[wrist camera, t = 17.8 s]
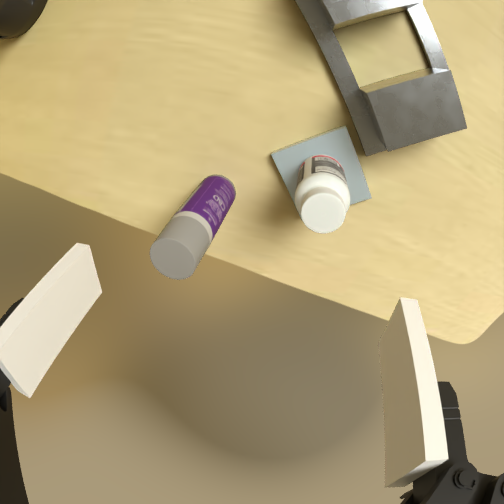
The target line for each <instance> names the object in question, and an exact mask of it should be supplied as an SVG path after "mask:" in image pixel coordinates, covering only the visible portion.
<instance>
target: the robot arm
mask: <svg viewBox="0 0 504 504" xmlns="http://www.w3.org/2000/svg"><path fill="white" fill-rule="evenodd" d="M46 2H47V0H0V39H8V38H14V37H17V36H20V35H22V34H23V33H25V32H26V31H27V30H28V29H29V28H30V27H31V26H32V25H33V24H34V23H35V21H36V20H37V18H38V17H39V15H40V14H41V12H42V10H43V8H44V6H45V4H46ZM101 293H102V290H101V286H100V283H99V279H98V276H97V272H96V269H95V265H94V261H93V257H92V253H91V249H90V245H85V244H80V243H76V244H75V245H74V246H73V247H72V248H71V249H70V250H69V251H68V252H67V253H66V254H65V255H64V256H63V258H61V259H60V260H59V261H58V262H57V264H56V265H55V266H54V267H53V268H52V269H51V270H50V271H49V272H48V273H47V274H46V275H45V276H44V277H43V278H42V279H41V281H40V282H39V283H38V284H37V285H36V286H35V287H34V288H33V289H32V290H31V292H30V293H29V294H28V295H27V296H26V297H25V298H21V299H20V300H18V301H17V302H15V303H14V304H13V305H12V306H11V307H10V308H9V309H8V311H7V312H6V314H4V315H3V317H2V318H1V319H0V504H29V502H28V498H27V495H26V490H25V486H24V482H23V477H22V473H21V468H20V462H19V457H18V451H17V444H16V438H15V430H14V421H13V411H12V398H11V390H10V388H9V387H8V386H9V385H10V383H12V384H13V386H14V387H15V388H16V389H17V391H19V392H21V393H22V394H24V395H26V396H27V397H29V398H30V397H31V396H32V394H33V392H34V391H35V389H36V387H37V386H38V384H39V383H40V381H41V380H42V378H43V376H44V375H45V373H46V372H47V370H48V368H49V367H50V366H51V364H52V362H53V361H54V359H55V358H56V356H57V355H58V353H59V352H60V350H61V349H62V347H63V346H64V344H65V343H66V342H67V340H68V339H69V337H70V336H71V334H72V333H73V332H74V330H75V329H76V327H77V326H78V324H79V323H80V322H81V320H82V319H83V317H84V316H85V314H86V313H87V312H88V310H89V309H90V308H91V306H92V305H93V304H94V302H95V301H96V300H97V298H98V297H99V296H100V294H101ZM378 347H379V357H380V367H381V378H382V391H383V408H384V430H385V487H403V486H406V485H408V484H410V483H411V482H413V489H412V490H410V491H408V492H406V493H404V494H403V495H402V496H401V497H400V498H401V499H403V498H405V499H404V500H403V501H402V503H401V504H504V473H503V474H501V475H500V476H498V477H496V476H491V475H487V474H482V473H479V472H477V469H476V468H475V467H474V466H473V465H472V464H471V463H469V462H468V460H467V455H466V448H465V441H464V434H463V428H462V423H461V420H460V411H459V409H458V407H459V406H458V401H457V396H456V393H455V391H454V390H453V388H452V386H451V384H450V383H449V382H437V379H436V374H435V369H434V364H433V360H432V355H431V351H430V347H429V342H428V339H427V334H426V330H425V327H424V323H423V319H422V315H421V312H420V308H419V305H418V301H417V300H416V299H409V298H401V297H400V299H399V301H398V303H397V305H396V307H395V310H394V312H393V314H392V316H391V318H390V320H389V322H388V324H387V326H386V329H385V331H384V333H383V335H382V336H381V339H380V340H379V342H378Z"/></svg>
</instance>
